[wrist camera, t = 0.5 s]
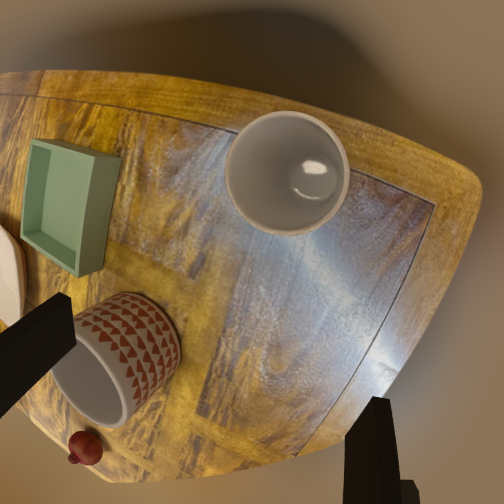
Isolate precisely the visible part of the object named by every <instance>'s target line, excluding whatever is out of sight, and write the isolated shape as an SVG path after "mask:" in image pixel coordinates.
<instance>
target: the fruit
mask: <svg viewBox="0 0 504 504" xmlns="http://www.w3.org/2000/svg"><path fill="white" fill-rule="evenodd" d="M68 447H69V450H70V452H71V454H70V455H69V456H68V460H69V461H70V462H71V463H72V464H77V463H79V462H80V463H81V464H83V465H94V464H96V463H98V462H99V461H100V459H101V458H102V454H103V449H102V445H101V442H100V440H99V439H98V437H96V436H95V435H94V434H91V433H89V432H86V431H78V432H76V433H74V434H73V435H72V436H71V437H70V439H69V444H68Z"/></svg>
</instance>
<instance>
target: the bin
mask: <svg viewBox="0 0 504 504" xmlns="http://www.w3.org/2000/svg"><path fill="white" fill-rule="evenodd" d="M121 161H122V158H120V157H117V156H113V155H110V154H107V153H103V152H100V151H96V150H93V149H89V148H86V147H82V146H78V145H75V144H71V143H67V142H64V141H60V140H56V139H31V144H30V150H29V156H28V162H27V168H26V175H25V183H24V192H23V202H22V214H21V233H20V238H22V239H23V240H24V241H26V242H27V243H28V244H30V245H31V246H32V247H34V248H35V249H37V250H38V251H39V252H41V253H42V254H43V255H45V256H46V257H48V258H49V259H50V260H52V261H53V262H55V263H56V264H58V265H59V266H61V267H62V268H63V269H65V270H66V271H68V272H69V273H71V274H72V275H74V276H75V277H77V278H80V277H82V276H85V275H88V274H90V273H93V272H95V271H98V270H101V269H103V261H104V254H105V246H106V239H107V233H108V226H109V220H110V214H111V209H112V203H113V198H114V193H115V188H116V183H117V178H118V174H119V169H120V165H121Z"/></svg>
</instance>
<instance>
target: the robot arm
mask: <svg viewBox="0 0 504 504" xmlns="http://www.w3.org/2000/svg"><path fill="white" fill-rule="evenodd" d="M76 345H77V341H76V335H75V328H74V321H73V313H72V304H71V297H69V296H67V295H65V294H63V293H61V292H58V293H57V294H55V295H54V296H52V297H51V298H49V299H48V300H47V301H45V302H44V303H42V304H41V305H39V306H38V307H36V308H35V309H34V310H32V311H31V312H29V313H28V314H26V315H25V316H24V317H22V318H21V319H19V320H18V321H17V322H15V323H14V324H13V325H11V326H10V327H8V328H7V329H6V330H4V331H3V332H2V333H0V418H1V417H2V416H3V415H4V414H5V413H6V412H7V411H8V410H9V409H10V408H11V407H12V406H13V405H14V404H15V403H16V402H17V401H18V400H19V399H20V398H21V397H22V396H23V395H24V394H25V393H26V392H27V391H28V390H29V389H30V388H31V387H32V386H34V385H35V384H36V383H37V382H38V381H39V380H40V379H41V378H42V377H43V376H44V375H45V374H46V373H47V372H48V371H49V370H50V369H51V368H52V367H53V366H54V365H55V364H56V363H58V362H59V361H60V360H61V359H62V358H63V357H64V356H65V355H66V354H67V353H68V352H69V351H70V350H71V349H73V348H74V347H75V346H76ZM344 463H345V464H344V487H343V504H420V498H419V491H418V489H417V487H416V485H415V483H414V481H413V480H400V472H399V462H398V454H397V445H396V437H395V430H394V423H393V417H392V410H391V404H390V400H389V399H386V398H380V397H374V396H373V397H372V398H371V400H370V401H369V403H368V404H367V406H366V407H365V409H364V410H363V411H362V413H361V414H360V416H359V417H358V419H357V420H356V421H355V423H354V424H353V426H352V427H351V428H350V430H349V431H348V433H347V434H346V435H345V461H344Z"/></svg>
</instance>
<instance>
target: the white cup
mask: <svg viewBox="0 0 504 504" xmlns="http://www.w3.org/2000/svg"><path fill="white" fill-rule="evenodd" d="M350 181H351V169H350V163H349V159H348V156H347V153H346V151H345V149H344V147H343V145H342V143H341V141H340V140H339V138H338V137H337V135H336V134H335V133H334V132H333V131H332V130H331V129H330V128H329V127H328V126H327V125H326V124H325V123H323V122H322V121H320V120H319V119H317V118H315V117H313V116H311V115H308V114H305V113H301V112H297V111H277V112H272V113H268V114H265V115H263V116H260V117H258V118H257V119H255V120H253V121H252V122H250V123H249V124H248V125H246V126H245V127H244V128H243V129H242V130H241V131H240V132H239V134H238V135H237V136H236V138H235V139H234V141H233V142H232V144H231V146H230V149H229V151H228V154H227V157H226V162H225V184H226V188H227V192H228V195H229V198H230V200H231V202H232V204H233V205H234V207H235V209H236V210H237V211H238V213H239V214H240V215H241V216H242V217H243V218H244V219H245V220H246V221H247V222H248V223H250V224H251V225H252V226H254V227H256V228H257V229H259V230H261V231H264V232H266V233H269V234H273V235H278V236H298V235H303V234H306V233H309V232H312V231H314V230H316V229H318V228H320V227H321V226H323V225H324V224H325V223H327V222H328V221H329V220H330V219H331V218H332V217H333V216H334V215H335V214H336V213H337V212H338V211H339V209H340V208H341V206H342V205H343V203H344V201H345V199H346V197H347V194H348V191H349V187H350Z"/></svg>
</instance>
